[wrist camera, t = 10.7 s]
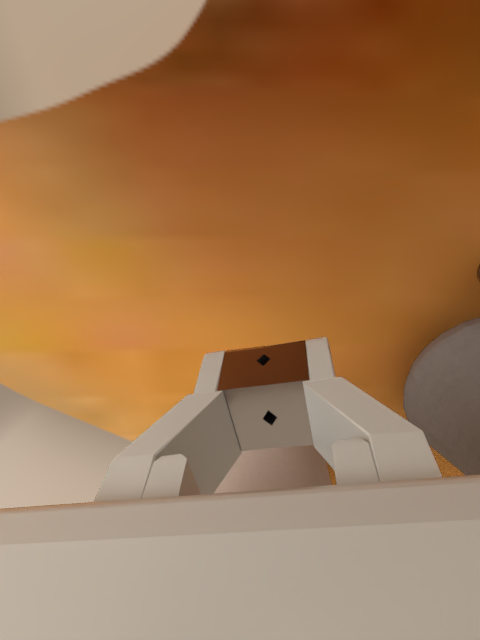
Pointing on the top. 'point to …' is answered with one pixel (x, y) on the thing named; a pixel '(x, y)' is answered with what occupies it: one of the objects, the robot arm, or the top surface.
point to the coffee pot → (449, 395)
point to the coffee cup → (276, 470)
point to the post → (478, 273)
